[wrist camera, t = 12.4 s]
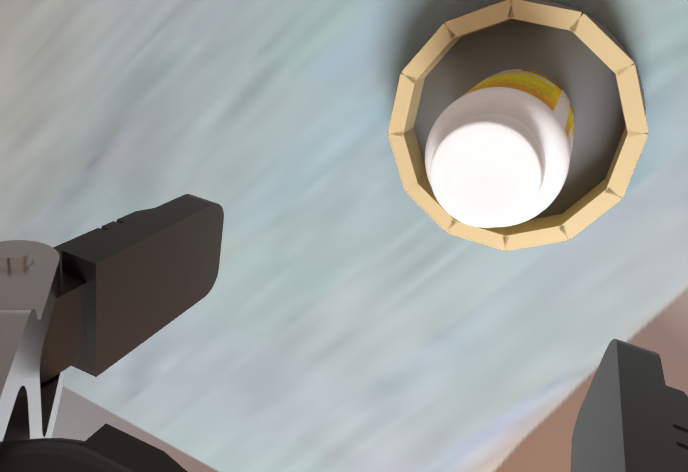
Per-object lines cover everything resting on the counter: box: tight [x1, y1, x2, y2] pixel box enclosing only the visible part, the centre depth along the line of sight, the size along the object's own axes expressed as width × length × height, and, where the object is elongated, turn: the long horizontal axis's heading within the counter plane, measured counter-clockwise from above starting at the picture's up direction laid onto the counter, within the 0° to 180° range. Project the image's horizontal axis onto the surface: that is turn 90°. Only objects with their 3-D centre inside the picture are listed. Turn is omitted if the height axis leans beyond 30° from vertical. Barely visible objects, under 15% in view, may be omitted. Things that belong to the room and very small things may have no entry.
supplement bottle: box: [425, 69, 575, 228], centre depth 25 cm, size 6×6×10 cm
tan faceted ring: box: [388, 0, 648, 251], centre depth 29 cm, size 12×12×3 cm
